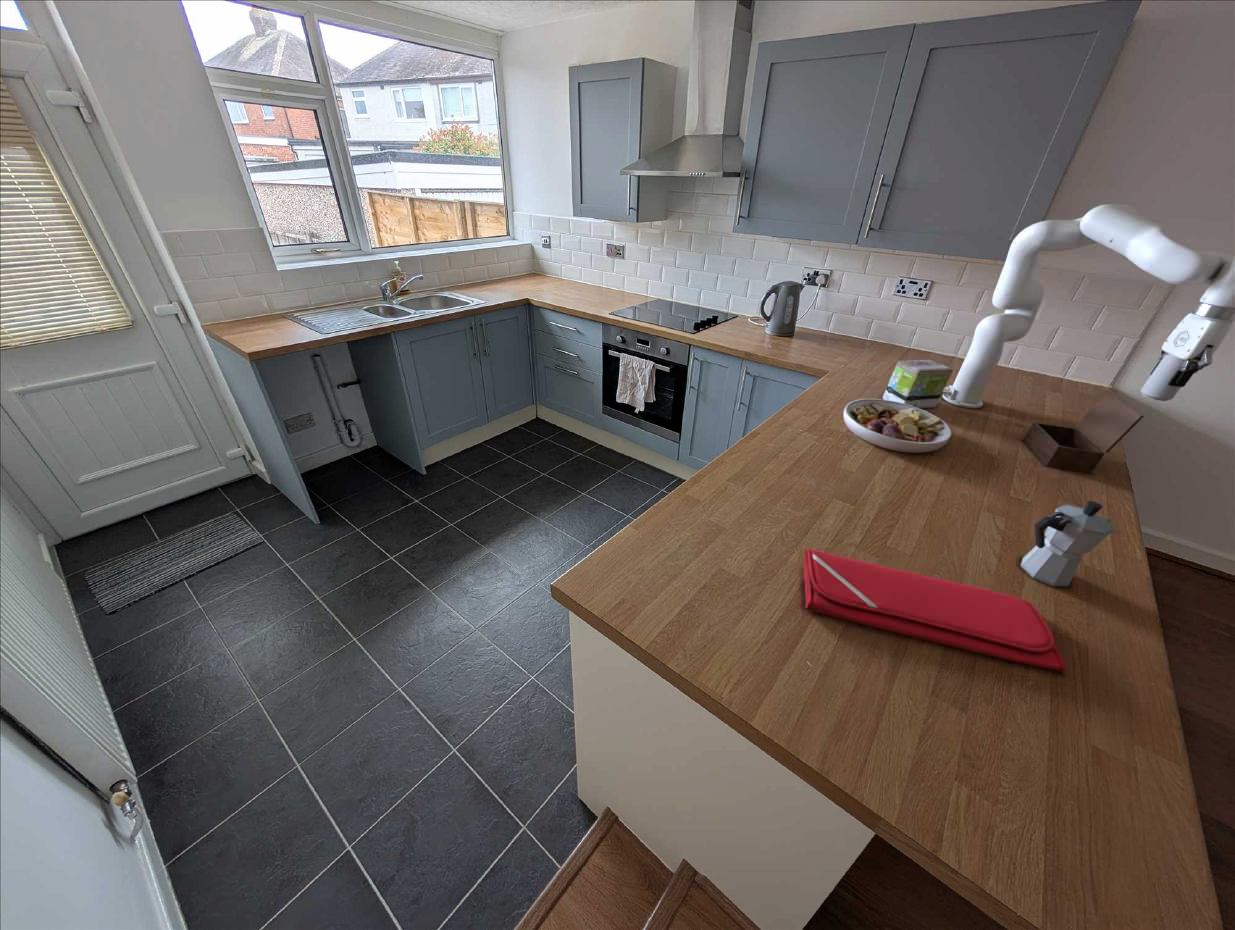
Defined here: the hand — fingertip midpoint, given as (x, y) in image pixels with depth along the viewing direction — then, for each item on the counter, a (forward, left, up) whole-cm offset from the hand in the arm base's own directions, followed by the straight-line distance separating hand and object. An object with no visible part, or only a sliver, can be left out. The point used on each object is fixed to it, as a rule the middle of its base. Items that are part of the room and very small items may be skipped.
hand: (1166, 380), depth 125 cm
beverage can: (0, 0, -5) cm, 5 cm away
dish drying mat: (-68, -80, -27) cm, 108 cm away
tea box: (-48, +25, -27) cm, 61 cm away
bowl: (-59, -3, -27) cm, 65 cm away
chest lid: (-7, 0, -14) cm, 15 cm away
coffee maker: (-40, -60, -27) cm, 77 cm away
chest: (-13, 0, -27) cm, 29 cm away
